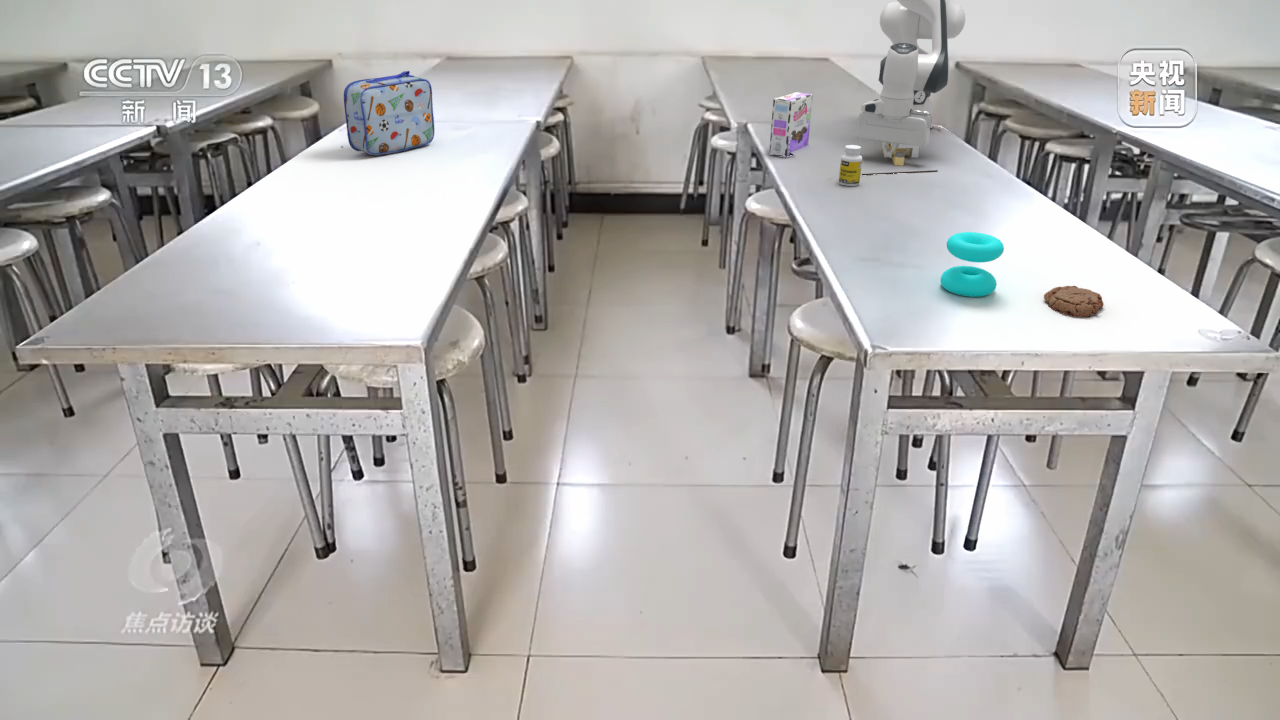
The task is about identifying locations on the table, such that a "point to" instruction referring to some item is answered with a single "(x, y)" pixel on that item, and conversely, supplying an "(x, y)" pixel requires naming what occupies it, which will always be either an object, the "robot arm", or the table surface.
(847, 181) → the supplement bottle
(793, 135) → the candy box
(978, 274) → the cyan spool
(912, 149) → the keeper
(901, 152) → the link
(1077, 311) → the cookie
